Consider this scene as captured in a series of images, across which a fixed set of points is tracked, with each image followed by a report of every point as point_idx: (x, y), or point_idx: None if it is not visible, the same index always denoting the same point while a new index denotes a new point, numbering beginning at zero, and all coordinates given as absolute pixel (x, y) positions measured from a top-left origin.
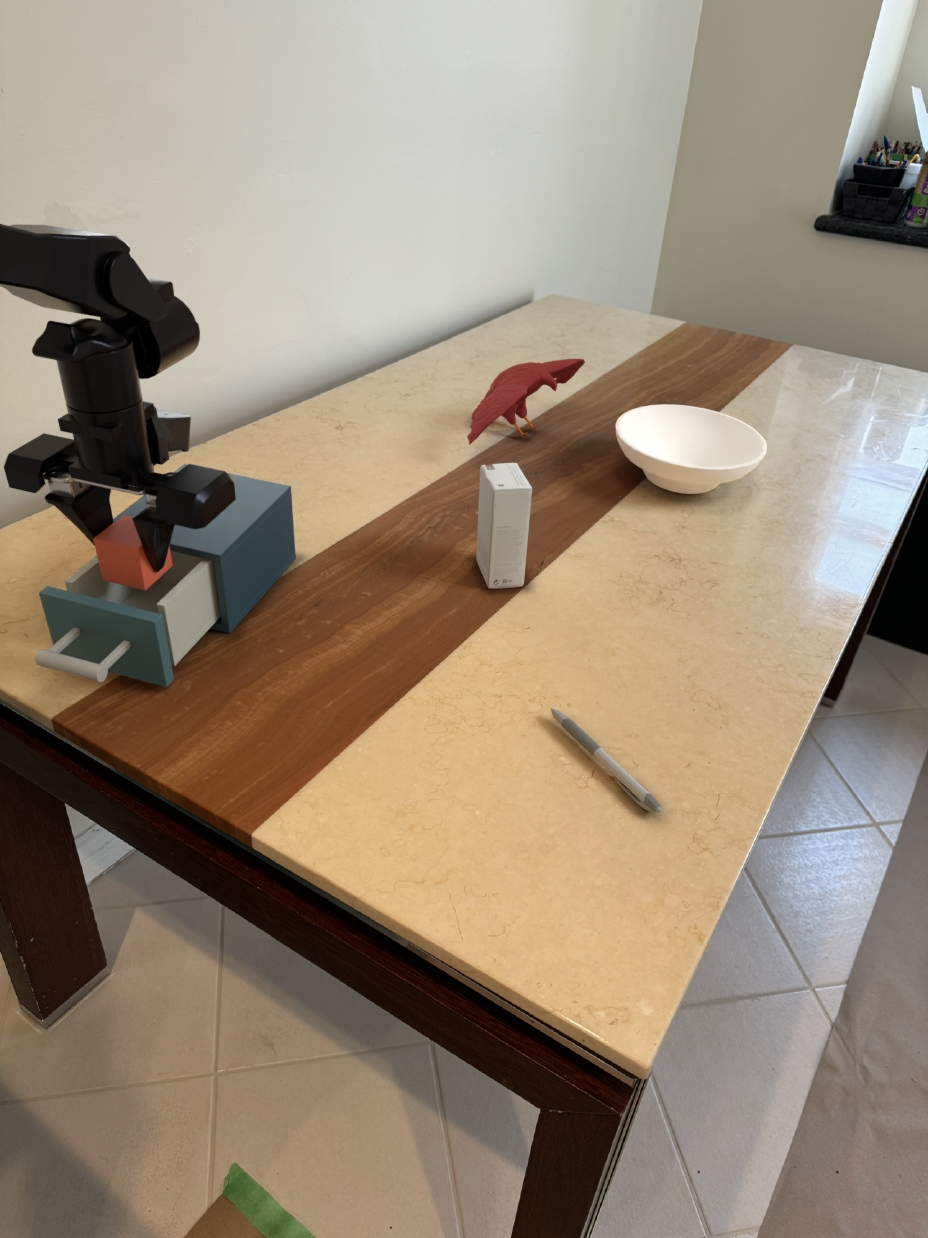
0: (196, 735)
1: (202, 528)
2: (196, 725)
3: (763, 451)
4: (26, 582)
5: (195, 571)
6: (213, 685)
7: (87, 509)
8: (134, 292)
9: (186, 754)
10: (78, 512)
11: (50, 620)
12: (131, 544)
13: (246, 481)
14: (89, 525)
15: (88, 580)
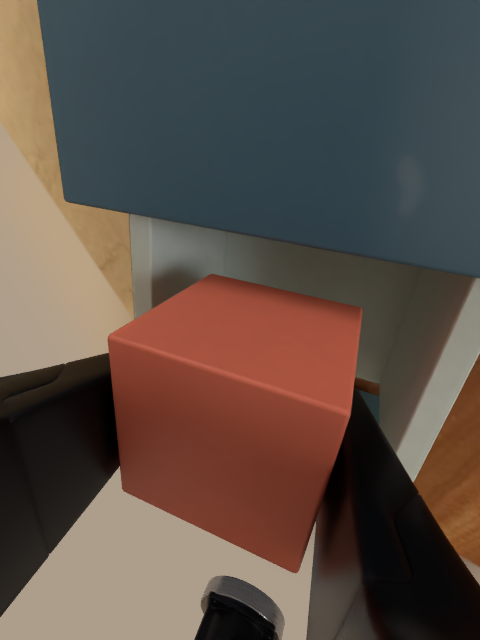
0: (467, 485)
1: (463, 43)
2: (462, 467)
3: None
4: (49, 162)
5: (468, 342)
6: (475, 386)
7: (4, 563)
8: None
9: (459, 512)
10: (2, 610)
11: None
12: (260, 548)
13: None
14: (74, 511)
15: None
